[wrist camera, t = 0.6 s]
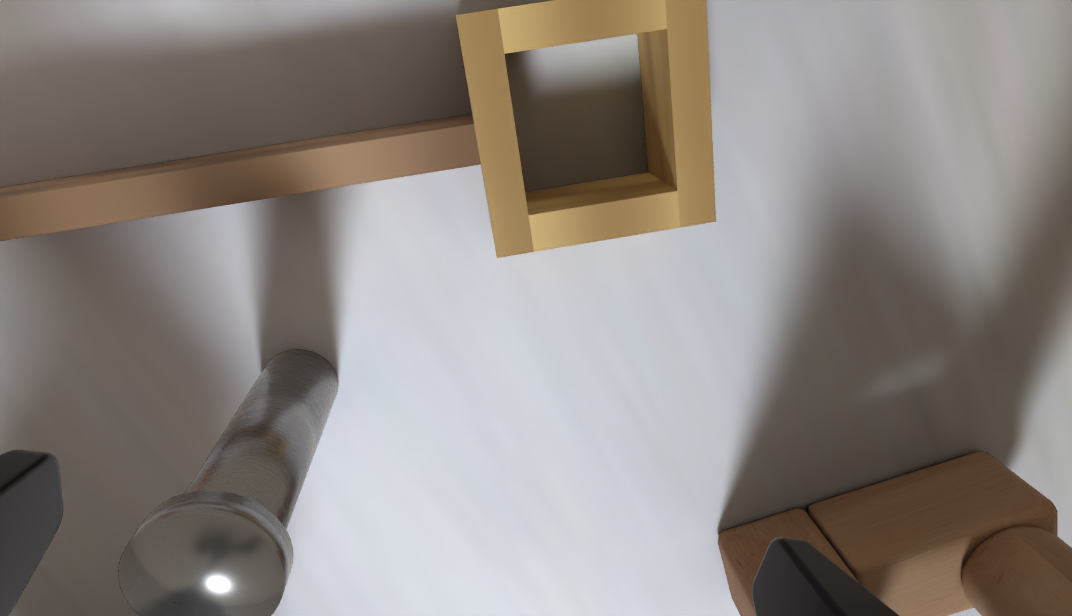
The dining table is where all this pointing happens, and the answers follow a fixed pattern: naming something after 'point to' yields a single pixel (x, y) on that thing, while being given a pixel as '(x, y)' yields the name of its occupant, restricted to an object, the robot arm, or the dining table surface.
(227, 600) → the hinge pin
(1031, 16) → the dining table surface
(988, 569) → the wooden block
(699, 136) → the tan piece
